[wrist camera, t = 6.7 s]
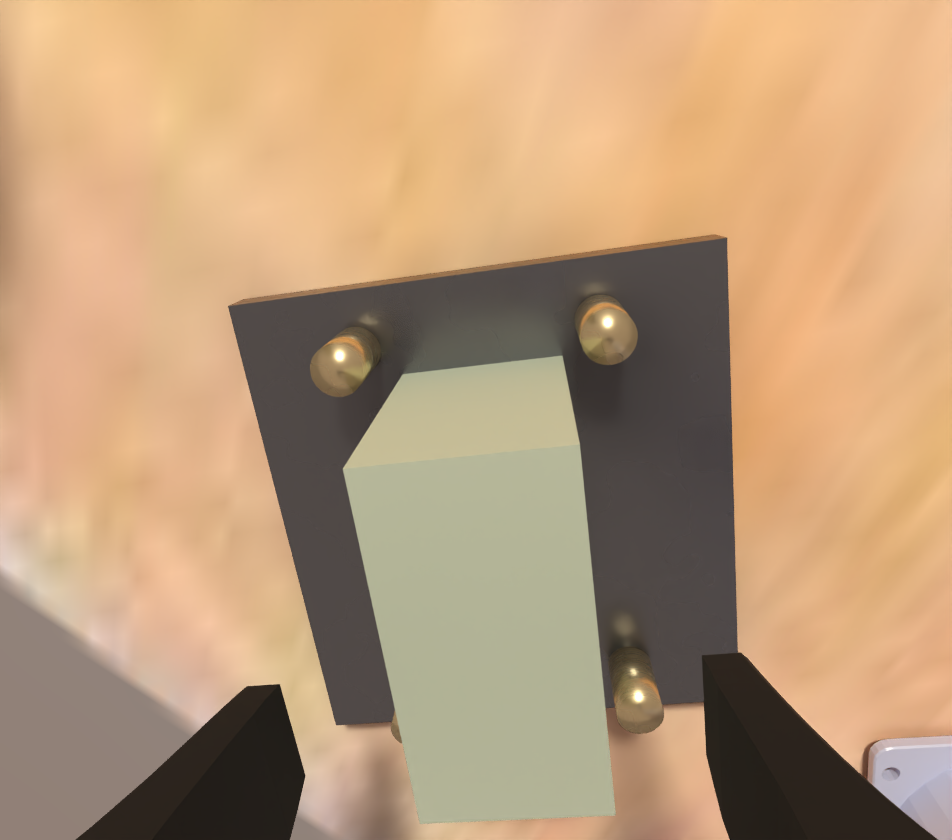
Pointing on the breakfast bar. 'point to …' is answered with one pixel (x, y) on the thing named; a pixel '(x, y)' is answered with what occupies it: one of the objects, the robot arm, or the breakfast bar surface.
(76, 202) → the breakfast bar surface
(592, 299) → the plate
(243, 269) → the breakfast bar surface
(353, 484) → the block
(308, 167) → the breakfast bar surface
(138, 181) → the breakfast bar surface
